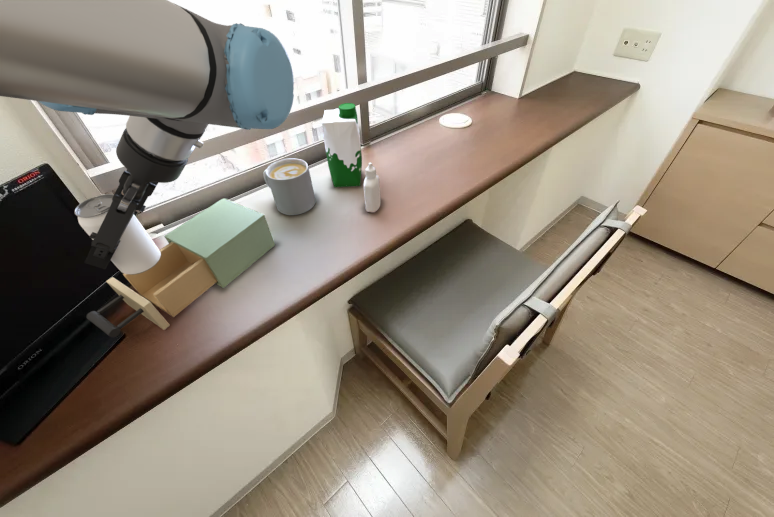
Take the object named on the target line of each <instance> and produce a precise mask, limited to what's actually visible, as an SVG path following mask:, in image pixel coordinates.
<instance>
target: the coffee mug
mask: <svg viewBox="0 0 774 517" xmlns="http://www.w3.org/2000/svg"><path fill="white" fill-rule="evenodd" d="M310 172H311V171H310V168H309V165H308V163H307V161H305V160H304V159H301V158H291V157H290V158H282V159H278V160H276V161H274V162H272V163H271V164H269V165H268V166H267V168H265V170H264V171H263V173H262V175H263V179H264V182H265V185H266V186H267V187H268V188H269V189H270V191H271V195H272V196H273V199H274V203H275V207H276V209H277V211H278V212H279V213H281V214H283V215H286V216H297V215H302V214H305V213H307V212H309V211H310V210H312V209H313V208H314V206H315V205H316V202H317V201H316V200H317V199H316V195H315V191H314V190H315V189H314V187H313V182H312V177H311V173H310Z"/></svg>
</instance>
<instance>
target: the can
mask: <svg viewBox="0 0 774 517" xmlns="http://www.w3.org/2000/svg"><path fill="white" fill-rule="evenodd" d="M113 196H114V194H113V193H104V194H99V195H95V196H92V197H89V198H87V199H86V200H83V201H82V202H80V203H79V204H78V205H76V206H75V209H74V215H75V216H76V217H77V221H78V222H77V223H78V224H79V226H80V227H81V229H82V230H84V232H85V233H86V234H87V235H88V236H90V235H91V234H92V232H94V233H98V231H99V229H100V227H101V224H102V222H103V220H104V218H105V216H106V214H107V212H108V210H109V208H110V206H111V203H112V198H113ZM93 240H94V239H92V238H91V241H93ZM160 256H161V252H160V249H159V248H158V246H157V244H156V243H155V242H154V240H153V239H152V238H151V235H149V233H148V232H147V230H146V228H145V227H144V226H143V225H142V223H141V222H140V220H139V219H138V218H137V215H136V216H135V215H133V216H132V218H131V220H130V222H129V224H128V226H127V227H126V229H125V231H124V233H123V235H122V237H121V238H120V243H119V245H118V247H117V249H116V251H115V253H114V254H113V256H112V258H111V260H110V262H112V264H113V265H114V266H115V267H116V268H117V269H118V270H119V271H120V272H121V273H122V274H130V275H135V274H140V273H143V272H145V271H148V270H149V269H151V268H152V267H154V266H155V265H156V264H157V263H158V261H159V259H160Z"/></svg>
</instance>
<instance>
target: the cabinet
mask: <svg viewBox="0 0 774 517" xmlns="http://www.w3.org/2000/svg"><path fill="white" fill-rule="evenodd" d="M163 237H164V238H165V240H166V242H167V244H169V243H171V242H173V243H175V244H176V245H178V246H180V247H182V248H184V249H186V250H188V251H190V252H192V253H194V254H195V255H197V256H199V257H201V258H203V259H205V261H206V262H207V264H208V266H209V267H210V269H211V271H212V273H213V274H214V276H215V278H216V279H217V281H218V282H216V283H215V284H214V285H217V286H218V287H221V288H222V289H225V288H226V287H227V286H228V285H229V284H231V283H232V282H233V281H234V280H235V279H237V278H238V277H240V275H241V274H242V273H244V272H245V271H247V270H248V268H250V267H251V266H252V265H253V264H254V263H256V262H257V261H258V260H259V259H261V258H262V257H263V256H264V255H265V254H266V253H267V252H269V251H270V250H271V249H272V248H273V247H275V246H276V243H275V240H274V237H273V235H272V232H271V229H270V226H269V223H268V221H267V218H266V214H265V213H262V212H259V211H257V210H254V209H252V208H249V207H247V206H244V205H242V204H239V203H237V202H234V201H232V200H229V199H228V198H224V197H223V198H221V199H220V200H218V201H216V202H215V203H214V204H212V205H210V206H209V207H207V208H205V209H204V210H202V211H201V212H199V213H197V214H196V215H195V216H193V217H191V218H190V219H188V220H187V221H185V222H183V223H182V224H181V225H179V226H177V227H176V228H174V229H172V230H171V231H169V232H168V233H167V234H165V235H164V236H163Z"/></svg>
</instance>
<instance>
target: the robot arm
mask: <svg viewBox="0 0 774 517" xmlns="http://www.w3.org/2000/svg"><path fill="white" fill-rule="evenodd" d="M290 59H291V58H290V57H289V54H288V52H287V50H286V48H285V46H284V45H283V43H282V42H281V41H280V39H279V38H278V37H277V36H276V35H275V34H274V33H273V32H271V31H270V30H268V29H266V28H263V27H257V26H249V25H245V24H243V23H233V24H230V25H227V24H226V25H225V24H220V23H216V22H214V21H211V20H209V19H207V18H205V17H203V16H201V15H200V14H197V13H195V12H193V11H191V10H189V9H187V8H185V7H182V6H181V5H178V4H177V3H175V2H172V1H170V0H0V97H4V98H10V99H11V98H12V99H19V100H27V101H36V102H39V103H40V104H41V105H42V106H45V107H46V108H49V109H52V110H53V111H57V112H66V113H67V112H68V113H80V114H83V115H90V116H93V115H95V114H97V115H99V114H100V115H101V114H102V115H116V116H117V115H118V116H129V117H128V119H127V121H126V124H125V125H126V126H125V128H124V130H123V132H122V134H121V137H120V138H119V141H118V143H117V146H116V149H115V152H116V153H115V154H116V157H117V159H118V161H119V162H120V163H121V165H122V166H123V167H124V168H125V170H123V172H122V174H121V176H120V177H119V179H118V187H117V188H116V190H115V192H114V194H113V195H114V196H113V198H112V203H111V206H110V208H109V210H108V212H107V214H106V216H105V218H104V220H103V222H102V224H101V227H100V229H99V231H98V233H94V232H92V234H91V235H90V236H89V235H88V236H89V239H91V243H90V244H91V247H90V249H89V252H88V253H87V255H86V258H85V260H84V264H87V265H89V266H92V267H95V268H99V269H102V270H106V269H107V268H108V266H109V264H110V262H111V258H112V256H113V254H114V253H115V251H116V249H117V247H118V245H119V243H120V238H121V237H122V235H123V233H124V231H125V229H126V227H127V226H128V224H129V222H130V220H131V218H132V216H133V215H135V216H136V217H137V215H138V213H139V212H141V213H144V211H145V210H146V208H147V206H146V205H145V204H146V202H147V200H148V198H149V197H151V196H152V195H153V194H154V191H155V190H156V188H157V186H158V185H159V184H167V183H172V182H174V181H176V180H178V179H179V177H180V176H181V174H182V172H183V170H184V169H185V166H186V165H187V164H188V162H189V158H190V157H191V156H192V153H193V152H194V150H195V149H196V148H198V149H202V148H203V146H204V142H203V141H201V138H202V137H203V135H204V134H205V132H206V129H207V127H208V126H209V125H212V126H219V127H220V126H221V127H230V128H236V129H241V130H245V131H247V130H248V131H249V130H253V129H255V130H273V129H276V128H278V127H280V126H282V125H283V124H284V122H285V121H286V120H287V119H288V117H289V115H290V114H291V110H292V107H293V103H294V97H295V94H294V84H295V82H294V81H295V80H294V78H295V77H294V72H293V71H294V70H293V67H292V66H293V65H292V63H291V60H290ZM92 239H94V240H92Z"/></svg>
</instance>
